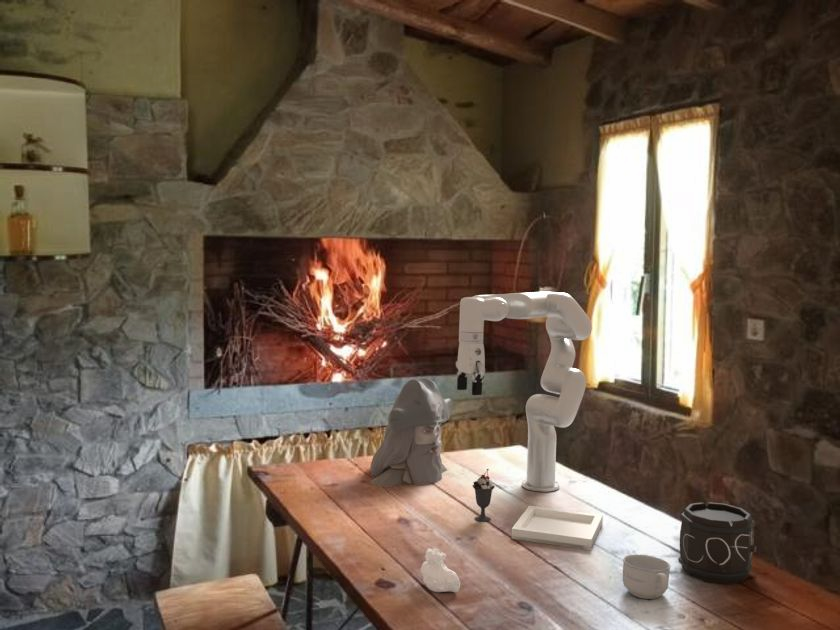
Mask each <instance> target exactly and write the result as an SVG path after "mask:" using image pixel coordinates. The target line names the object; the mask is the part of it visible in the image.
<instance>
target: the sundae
mask: <svg viewBox="0 0 840 630" xmlns="http://www.w3.org/2000/svg"><path fill="white" fill-rule="evenodd" d="M488 472H489V468H486V471H485V473H484V474H481V476H480V477H479V478H478V479H477V480H476V481H473V484H472V488H473V489H474V493H475V501H476V505H477V507H479V508H480V515H478V516H475V517H474V520H475V521H476V522H479V523H487V522H491V521H492V517H490V516H487V515H486V508H488V507H489V506H490V505H491V504H490V503H491V500H492V494H493V493H492V492H493V490H494V489H495V485H494V484H493V483H492V480H490V476H489V473H488ZM486 473H487V474H486Z"/></svg>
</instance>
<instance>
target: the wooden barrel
mask: <svg viewBox="0 0 840 630" xmlns="http://www.w3.org/2000/svg"><path fill="white" fill-rule="evenodd" d="M679 518H680V520H681V524H680V531H679V556H678V563H679V564H680V565H681V568H682V570H683V571H684V572H685V573H686V574H687V575H688V576H689V577H691V578H694V579H697V580H699V581H703V582H706V583H710V584H719V585H727V586H729V585H732V584H733V585H734V584H739V583H744V582H745V581H746V579H747V578H748V577H749V575H750V573H751V572H752V570H753V569H754V566H753V564H752V561H753V556H754V553H755V554H756V552H757V548H758V547H757V545H755V536H754V535H755V533H754V528H755V525H756V523H755V520H754V519H752V515H751V514H750V513H749V512H748V511H747V510H745V509H743V507H738V506H735V505H730V504H727V503H722V502H721V503H719V502H709V501H708V502H707V503H704V502H695V503H690V504H689V505H687V506H686V508H685V509H684V511H683V512H682V513H681V514H680V517H679Z"/></svg>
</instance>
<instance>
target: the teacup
mask: <svg viewBox="0 0 840 630" xmlns="http://www.w3.org/2000/svg"><path fill="white" fill-rule="evenodd" d="M622 560H623V563H622V583H623V587H625V589H626V590H627V591H629V593H630V594H631V595H632V596H635V597H637V598H640V599H646V600H654V599H657V598H659V597H660V596H663V595H664V594H665V593H666V592H667V590H668V588H669V582H670V581H669V580H670V570H671V564H670V563H669V562H668V561H666V560H665V559H662V558H659V557H656V556H652V555H648V554H628V555H625V556H624V557H623V558H622Z"/></svg>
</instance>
